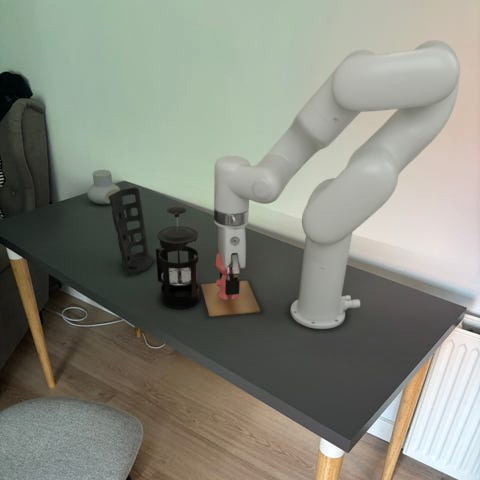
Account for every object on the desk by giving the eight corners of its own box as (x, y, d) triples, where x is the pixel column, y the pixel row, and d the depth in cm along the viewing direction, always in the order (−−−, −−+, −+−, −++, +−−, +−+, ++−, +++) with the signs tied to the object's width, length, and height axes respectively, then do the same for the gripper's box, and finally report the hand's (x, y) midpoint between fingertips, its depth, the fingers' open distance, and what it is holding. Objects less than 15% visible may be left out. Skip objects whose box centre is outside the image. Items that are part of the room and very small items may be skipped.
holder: (143, 277, 130) (128, 201, 119) (115, 276, 132) (98, 201, 121) (157, 258, 139) (145, 186, 128) (131, 257, 141) (117, 186, 130)
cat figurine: (239, 287, 127) (241, 243, 120) (246, 302, 121) (248, 257, 114) (211, 290, 125) (211, 246, 118) (217, 305, 120) (217, 259, 113)
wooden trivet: (247, 282, 130) (247, 280, 130) (260, 312, 119) (260, 310, 119) (200, 285, 128) (200, 284, 128) (209, 316, 117) (209, 314, 116)
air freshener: (108, 194, 178) (105, 165, 172) (125, 200, 174) (123, 171, 168) (84, 203, 170) (79, 173, 164) (101, 209, 166) (97, 179, 161)
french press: (210, 298, 123) (209, 207, 110) (184, 315, 117) (180, 221, 104) (173, 282, 129) (169, 195, 116) (147, 298, 122) (139, 207, 109)
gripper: (257, 231, 105) (252, 304, 115) (240, 200, 119) (237, 267, 129) (221, 233, 104) (219, 306, 114) (208, 201, 118) (208, 269, 128)
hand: (229, 285), depth 121 cm, fingers closed on cat figurine, 6 cm apart
